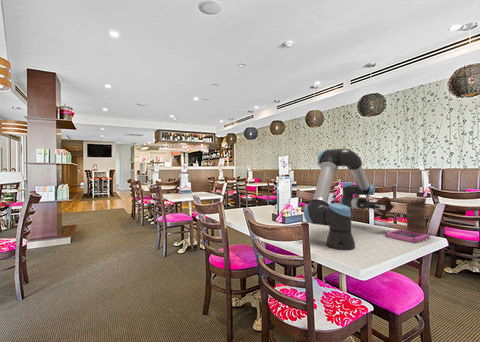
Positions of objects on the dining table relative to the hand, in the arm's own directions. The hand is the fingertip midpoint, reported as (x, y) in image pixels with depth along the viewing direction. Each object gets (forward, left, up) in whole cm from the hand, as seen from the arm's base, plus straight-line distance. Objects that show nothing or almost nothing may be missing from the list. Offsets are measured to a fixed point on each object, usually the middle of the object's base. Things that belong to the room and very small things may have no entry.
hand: (390, 207), depth 159 cm
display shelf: (+2, -10, -18) cm, 21 cm away
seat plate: (0, -10, -18) cm, 21 cm away
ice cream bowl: (0, +4, -9) cm, 10 cm away
